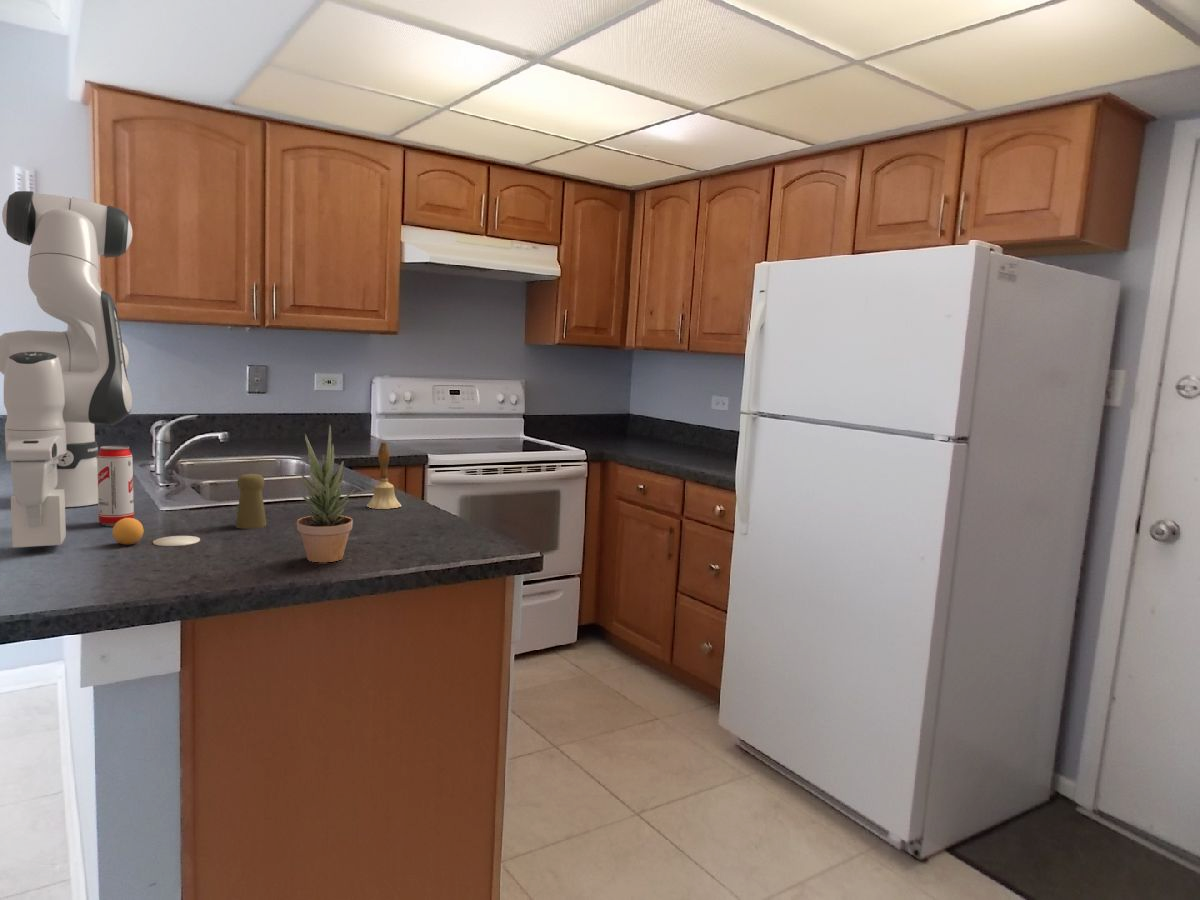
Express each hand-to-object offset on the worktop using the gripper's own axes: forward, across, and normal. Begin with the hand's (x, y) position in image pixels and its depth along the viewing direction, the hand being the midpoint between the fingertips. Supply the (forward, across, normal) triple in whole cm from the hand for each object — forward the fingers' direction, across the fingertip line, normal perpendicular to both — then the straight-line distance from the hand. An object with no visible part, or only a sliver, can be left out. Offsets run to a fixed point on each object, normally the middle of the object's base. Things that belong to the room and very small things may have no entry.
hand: (39, 521), depth 144 cm
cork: (+5, -11, +36) cm, 38 cm away
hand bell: (+5, -25, +66) cm, 71 cm away
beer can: (+5, -20, +10) cm, 23 cm away
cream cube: (+4, 0, 0) cm, 4 cm away
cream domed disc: (+5, 0, +22) cm, 22 cm away
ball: (+3, 0, +14) cm, 14 cm away
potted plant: (+5, +22, +46) cm, 51 cm away
